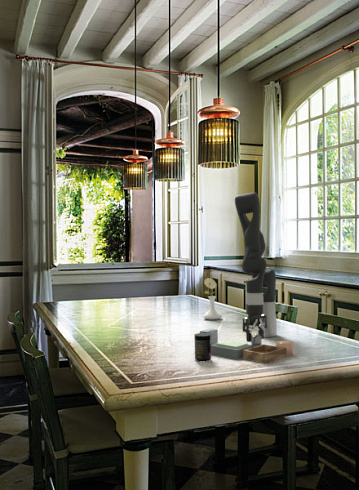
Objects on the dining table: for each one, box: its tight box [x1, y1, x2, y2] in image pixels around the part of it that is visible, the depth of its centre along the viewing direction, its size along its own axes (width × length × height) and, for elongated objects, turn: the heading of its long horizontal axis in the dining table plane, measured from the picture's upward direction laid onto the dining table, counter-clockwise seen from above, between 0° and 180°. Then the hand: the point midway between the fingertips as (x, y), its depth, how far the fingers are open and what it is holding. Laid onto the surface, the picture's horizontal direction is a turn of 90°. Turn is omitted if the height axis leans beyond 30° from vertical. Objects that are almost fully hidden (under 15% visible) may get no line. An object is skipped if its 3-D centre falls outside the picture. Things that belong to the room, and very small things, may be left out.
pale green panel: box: [216, 339, 249, 349], centre depth 215 cm, size 8×11×1 cm
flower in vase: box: [202, 277, 223, 321], centre depth 307 cm, size 13×11×25 cm
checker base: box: [211, 344, 253, 360], centre depth 216 cm, size 11×14×4 cm
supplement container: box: [194, 332, 212, 363], centre depth 207 cm, size 7×7×10 cm
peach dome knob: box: [275, 340, 294, 357], centre depth 213 cm, size 7×7×5 cm
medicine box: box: [199, 328, 219, 345], centre depth 226 cm, size 8×4×9 cm, turn 141°
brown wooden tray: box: [242, 343, 287, 364], centre depth 208 cm, size 11×15×4 cm
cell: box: [250, 333, 263, 347], centre depth 221 cm, size 4×4×7 cm
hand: (255, 340), depth 221 cm, fingers open, 8 cm apart
